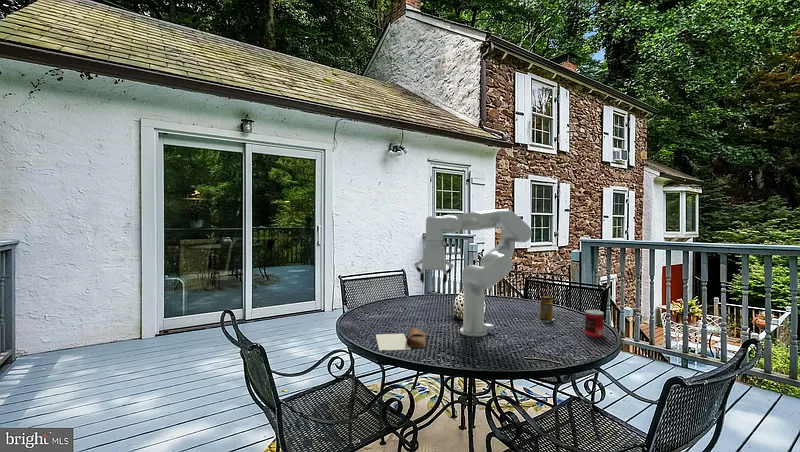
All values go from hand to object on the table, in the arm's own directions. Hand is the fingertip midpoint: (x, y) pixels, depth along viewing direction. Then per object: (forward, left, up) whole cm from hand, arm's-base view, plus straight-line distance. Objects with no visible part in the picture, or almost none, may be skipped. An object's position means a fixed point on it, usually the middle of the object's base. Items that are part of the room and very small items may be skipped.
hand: (433, 282), depth 175 cm
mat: (+18, +2, -25) cm, 31 cm away
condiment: (-66, -24, -25) cm, 74 cm away
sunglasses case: (+7, +2, -25) cm, 26 cm away
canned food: (-75, +4, -25) cm, 79 cm away
